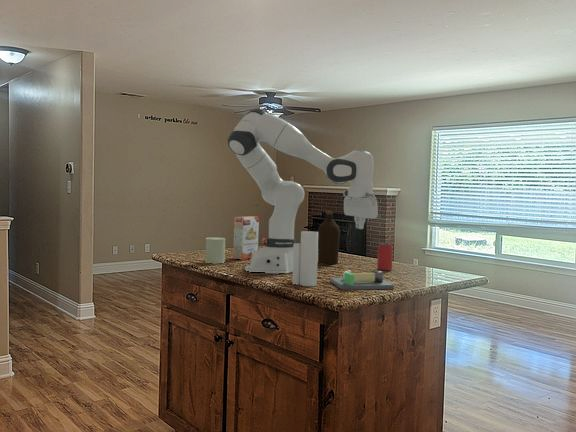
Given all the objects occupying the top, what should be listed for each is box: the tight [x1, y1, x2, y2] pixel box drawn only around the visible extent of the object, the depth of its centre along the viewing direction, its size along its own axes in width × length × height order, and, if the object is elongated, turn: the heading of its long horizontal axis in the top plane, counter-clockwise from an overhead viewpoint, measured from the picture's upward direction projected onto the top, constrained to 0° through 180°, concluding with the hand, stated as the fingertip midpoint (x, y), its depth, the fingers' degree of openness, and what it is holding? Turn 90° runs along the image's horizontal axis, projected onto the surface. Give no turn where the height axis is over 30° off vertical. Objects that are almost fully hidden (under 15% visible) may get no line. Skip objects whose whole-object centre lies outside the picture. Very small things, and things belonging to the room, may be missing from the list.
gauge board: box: [329, 269, 395, 291], centre depth 206 cm, size 20×16×6 cm
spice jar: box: [352, 270, 384, 283], centre depth 204 cm, size 13×4×4 cm, turn 111°
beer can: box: [376, 242, 394, 272], centre depth 245 cm, size 7×7×12 cm
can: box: [204, 236, 226, 264], centre depth 252 cm, size 9×9×12 cm
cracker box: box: [232, 215, 260, 261], centre depth 268 cm, size 14×6×21 cm, turn 150°
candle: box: [291, 230, 318, 287], centre depth 205 cm, size 11×7×20 cm, turn 50°
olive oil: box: [317, 210, 341, 266], centre depth 260 cm, size 11×11×25 cm
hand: (359, 228), depth 208 cm, fingers closed
